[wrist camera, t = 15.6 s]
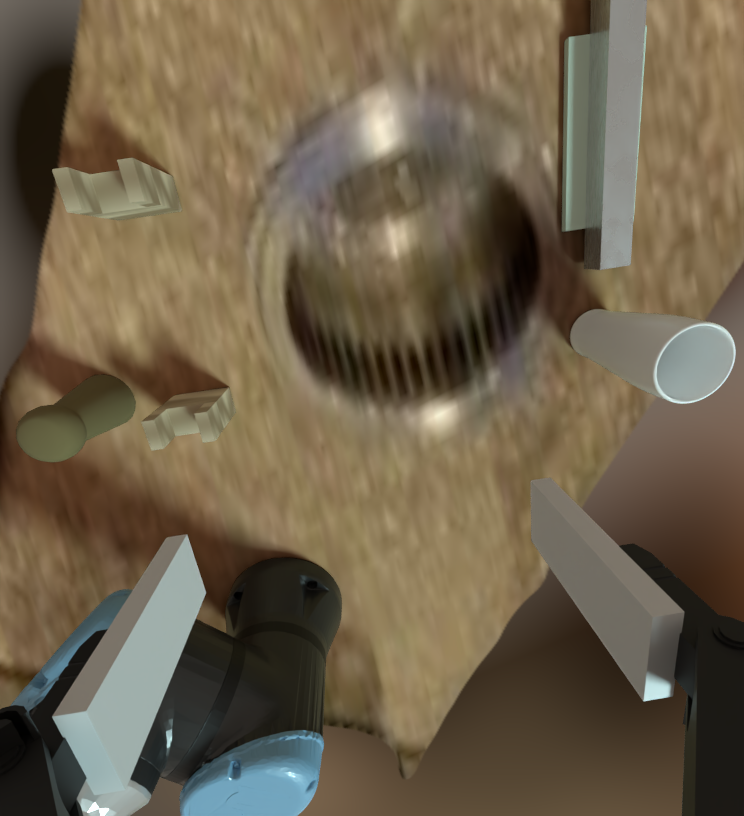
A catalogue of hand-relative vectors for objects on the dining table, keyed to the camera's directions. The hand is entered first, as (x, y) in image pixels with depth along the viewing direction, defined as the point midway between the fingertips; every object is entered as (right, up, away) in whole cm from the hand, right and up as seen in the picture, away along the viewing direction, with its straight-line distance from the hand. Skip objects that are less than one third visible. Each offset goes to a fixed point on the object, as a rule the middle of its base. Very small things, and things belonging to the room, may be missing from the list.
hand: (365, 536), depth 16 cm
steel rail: (+22, +31, +24) cm, 45 cm away
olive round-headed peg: (-29, +6, +31) cm, 43 cm away
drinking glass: (+25, +13, +31) cm, 42 cm away
